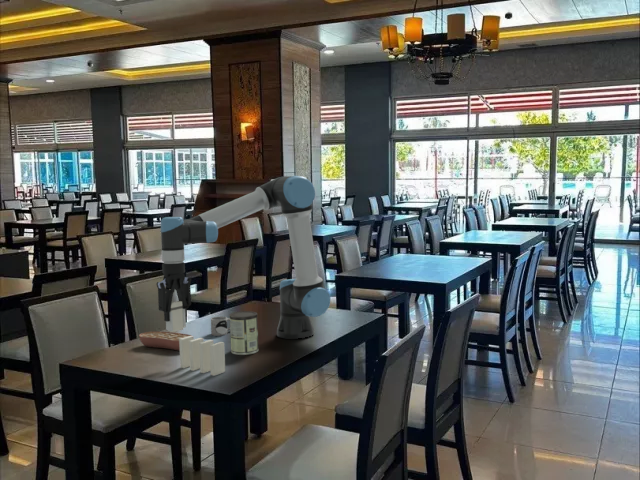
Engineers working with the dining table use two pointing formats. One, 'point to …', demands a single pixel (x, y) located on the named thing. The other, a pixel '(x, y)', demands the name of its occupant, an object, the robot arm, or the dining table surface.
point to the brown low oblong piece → (162, 339)
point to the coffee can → (244, 332)
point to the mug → (219, 326)
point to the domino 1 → (177, 316)
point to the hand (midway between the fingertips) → (176, 328)
